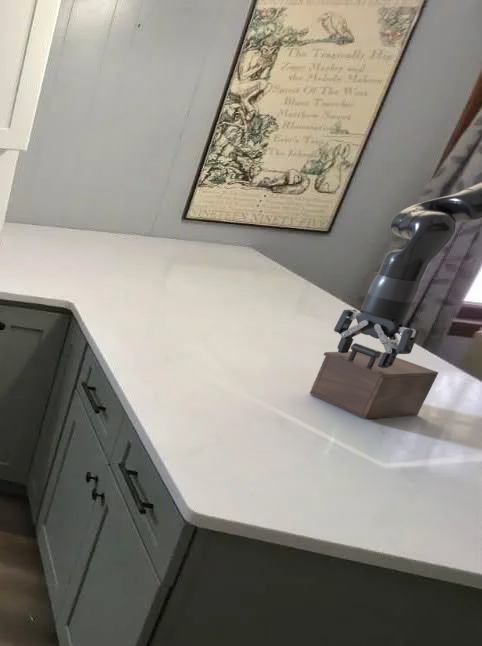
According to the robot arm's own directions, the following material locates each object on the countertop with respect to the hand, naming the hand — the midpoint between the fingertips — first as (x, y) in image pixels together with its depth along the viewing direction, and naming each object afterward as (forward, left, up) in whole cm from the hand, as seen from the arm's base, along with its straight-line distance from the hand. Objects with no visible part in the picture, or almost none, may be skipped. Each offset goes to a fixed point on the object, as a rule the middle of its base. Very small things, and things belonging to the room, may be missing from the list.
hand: (362, 359), depth 150 cm
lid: (-6, 0, -2) cm, 6 cm away
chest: (-6, 0, -12) cm, 14 cm away
